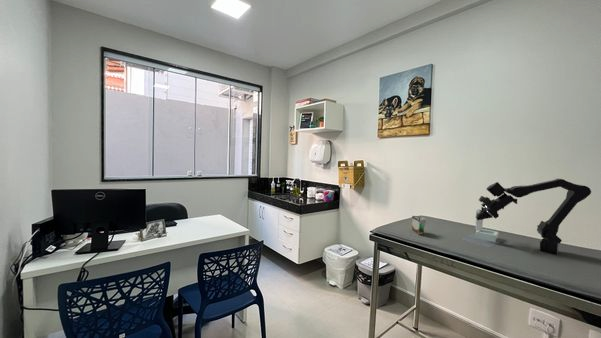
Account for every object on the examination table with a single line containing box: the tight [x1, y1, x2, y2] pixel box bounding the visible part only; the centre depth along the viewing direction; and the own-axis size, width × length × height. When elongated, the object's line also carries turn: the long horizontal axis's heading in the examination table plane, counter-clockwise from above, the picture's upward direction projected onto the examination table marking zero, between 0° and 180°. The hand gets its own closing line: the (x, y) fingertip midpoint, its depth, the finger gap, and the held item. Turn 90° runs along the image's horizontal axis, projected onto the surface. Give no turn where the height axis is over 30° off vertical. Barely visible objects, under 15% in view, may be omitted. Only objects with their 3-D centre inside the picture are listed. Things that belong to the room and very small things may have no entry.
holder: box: [474, 228, 499, 242], centre depth 153 cm, size 10×10×4 cm
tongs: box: [475, 209, 484, 231], centre depth 148 cm, size 3×4×12 cm
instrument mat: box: [457, 232, 506, 249], centre depth 151 cm, size 16×26×1 cm, turn 124°
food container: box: [411, 215, 427, 236], centre depth 162 cm, size 12×6×10 cm, turn 179°
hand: (476, 218), depth 149 cm, fingers closed on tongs, 4 cm apart
